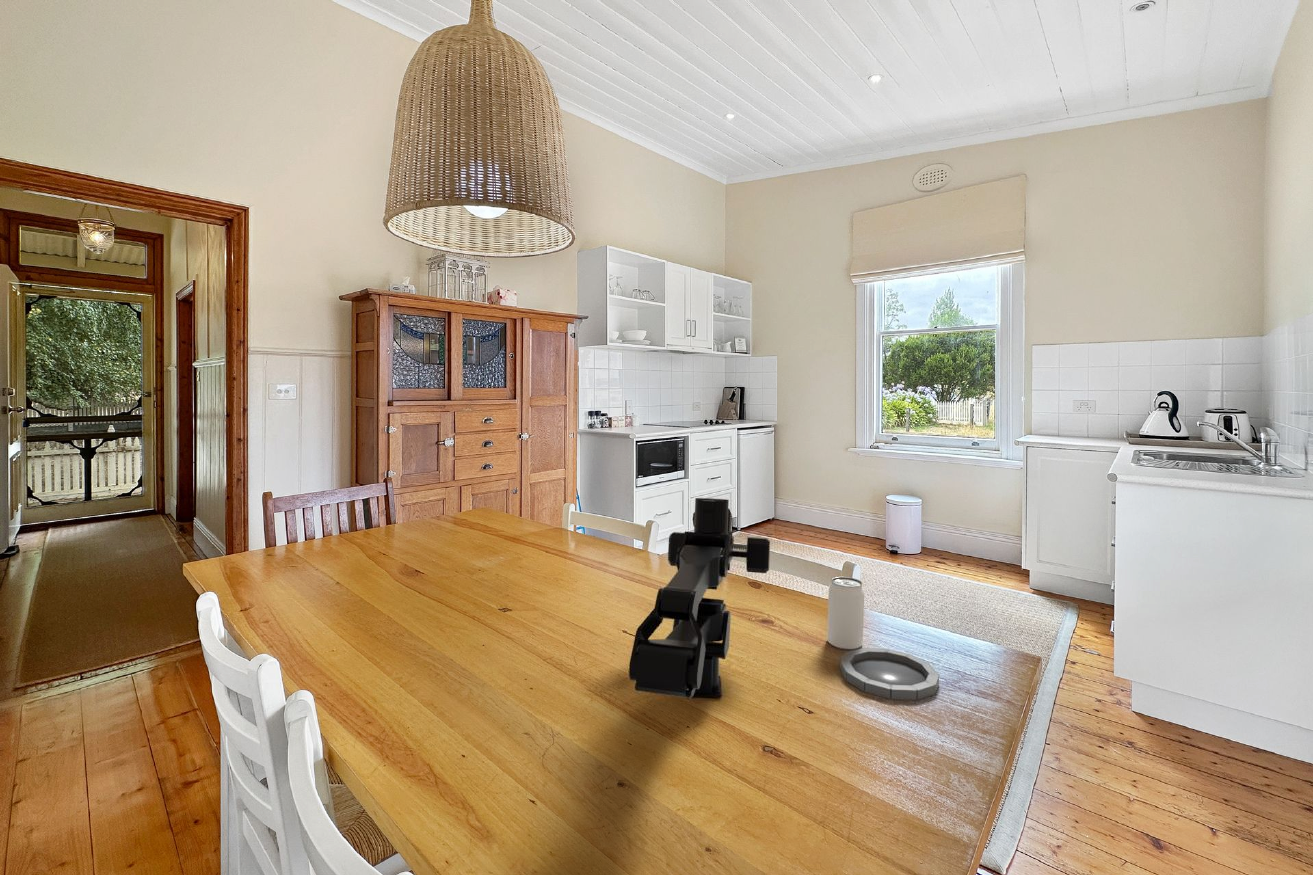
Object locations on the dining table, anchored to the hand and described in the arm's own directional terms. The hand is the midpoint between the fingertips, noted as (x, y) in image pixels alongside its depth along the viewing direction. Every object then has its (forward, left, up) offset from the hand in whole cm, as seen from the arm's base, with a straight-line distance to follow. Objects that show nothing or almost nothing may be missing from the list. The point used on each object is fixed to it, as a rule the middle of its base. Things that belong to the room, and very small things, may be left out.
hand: (724, 547), depth 120 cm
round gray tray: (-19, -27, -16) cm, 37 cm away
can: (-6, -23, -17) cm, 29 cm away
